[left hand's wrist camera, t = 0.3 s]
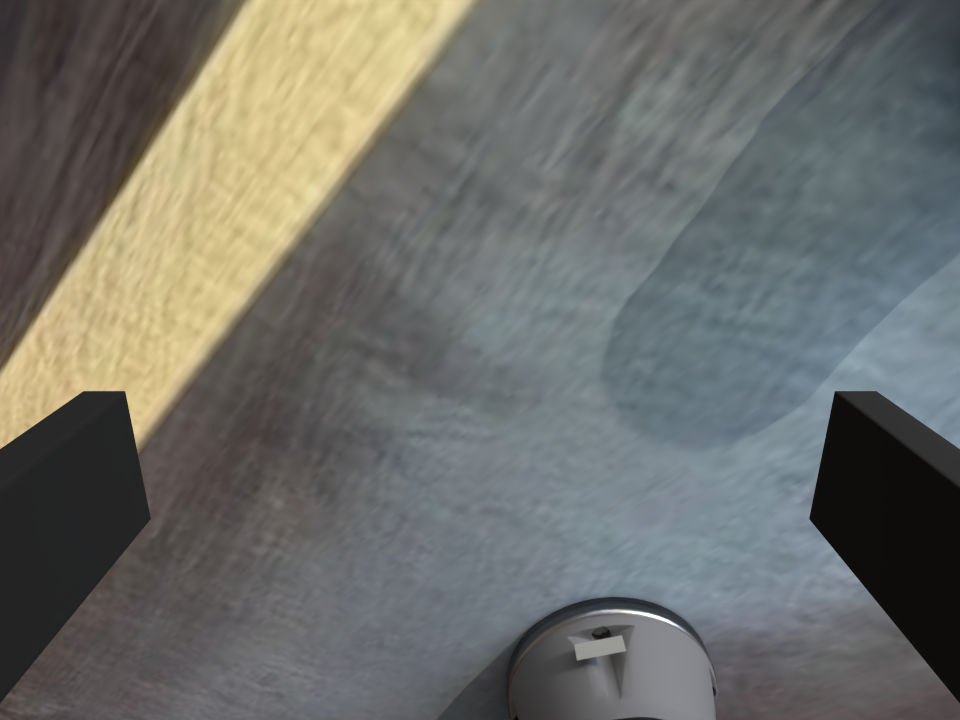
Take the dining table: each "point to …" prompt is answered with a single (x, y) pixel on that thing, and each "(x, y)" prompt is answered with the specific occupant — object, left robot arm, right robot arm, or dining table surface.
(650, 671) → the right robot arm
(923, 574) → the left robot arm
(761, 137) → the dining table surface
